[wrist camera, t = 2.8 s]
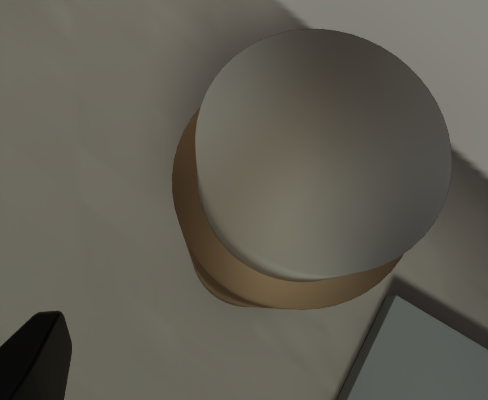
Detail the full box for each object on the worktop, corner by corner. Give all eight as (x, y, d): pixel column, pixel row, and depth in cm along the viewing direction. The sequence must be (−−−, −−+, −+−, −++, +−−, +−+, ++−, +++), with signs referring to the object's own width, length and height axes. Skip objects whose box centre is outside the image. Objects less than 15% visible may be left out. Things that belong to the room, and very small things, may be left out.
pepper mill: (320, 231, 19) (527, 99, 7) (267, 328, 18) (402, 382, 6) (228, 177, 20) (266, -47, 7) (170, 268, 18) (91, 192, 6)
